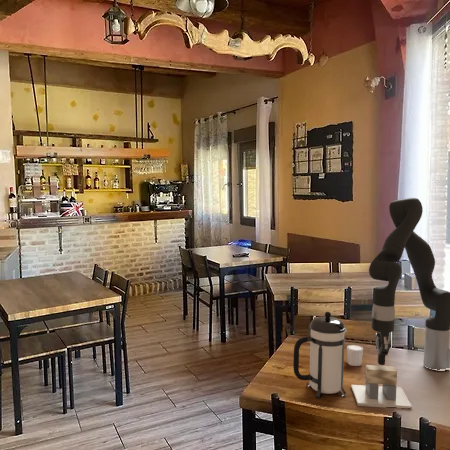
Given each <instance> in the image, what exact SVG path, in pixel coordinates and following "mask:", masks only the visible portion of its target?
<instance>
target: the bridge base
mask: <svg viewBox="0 0 450 450" xmlns="http://www.w3.org/2000/svg"><path fill="white" fill-rule="evenodd" d="M350 385H351V386H350V387H351V390H352V392H353V393H352V394H353V397H354V399H355V402H356V405H357V406H358V407H372V408H386V407H397V408H396V409H401V408H412V409H413V404H412V403H411V402H410V401H409V398H408V396H407V395H406V394H405V392H404V390H403V388H402V387H399V386H397V385H389V384H382V385H381V386H379V384H375V383H367V381H366V380H365V384H362V385H361V384H350Z"/></svg>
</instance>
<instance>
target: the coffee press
mask: <svg viewBox="0 0 450 450" xmlns="http://www.w3.org/2000/svg"><path fill="white" fill-rule="evenodd" d="M346 327H347V326H345V324H344V322H343V320H341V319H339V318H337V317H335V316H332V313H331V312H330V311H326V312H324V316H323V315H321V316H317V317H315V318H313V319H312V320H311V322H310V323H309V329H310V334H309V336H303V337H301V338H299V339H298V340H297V341H296V342H295V344H294V347H293V364H292V365H293V372H294V373H293V374H294V376H295V377H296V378H297V379H298V380H300V381H307V382H306V387H308V388H310V387H311V388H312V390H314V391H315V392H316V395H315V398H316V399H322V396H323V394H336V393H338V394H339V395H340V397H342V398H344V397H346V395H347V392H346V391H345V389H344V364H345V362H344V361H345V343H346V342H345V341H346V336H345V333H348V330H347V328H346ZM308 342H309V346H310V347H309V371H308V374H301V373H300V367H299V366H300V365H299V364H300V363H299V362H300V348H301V345H303V344H304V343H308Z"/></svg>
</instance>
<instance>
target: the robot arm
mask: <svg viewBox="0 0 450 450" xmlns="http://www.w3.org/2000/svg"><path fill="white" fill-rule="evenodd" d="M388 207H389V208H388V209H389V214H390V215H389V216H390V217H391V220H392V222H393V225H394V226H395V228H394V229H393V230H392V231H391V232H390V233H389V234H388V236H386V239H385V240H384V243H383V246H382V248H381V251H379V252H378V254H377V255H376V256H375V257H374V259H373V260H372V261H371V262H370V264H369V267H368V274H369V276H370V278H372V279H373V280H375V281H381V282H382V281H383V282H384V281H385V282H388V284H387V285H386V286H385V285H382V286H377V287H375V288H374V289H373V299H372V300H373V304H372V310H371V329H372V330H373V331H375V334H374V337H375V339H374V340H375V347H376V348H375V349H376V352H377V364H378V366H386V356H388V354H389V352H390V349H391V344H389V342H390V336H389V333H392V332H394V331H395V318H396V317H395V315H396V310H395V300H396V299H395V298H396V291H397V289H398V288H397V287H398V283H399V281H400V278H401V276H402V273H403V272H402V266H401V264H400V263H398V262H400V261H401V258H402V257H403V254H404V250H405V252H406V255H407V258H408V261H409V263H410V266H411V268H412V271H413V274H414V276H415V280H416V282H417V285H418V290H419V294H420V298H421V301H422V304H423V305H424V307H426V308H427V309H429V310H431V311H434V313H435V315H434V317H428V318H426V320H425V326H424V346H423V360H422V361H423V365H424V366H426V367H428V368H431V369H437V370H440V369H446V368H450V291H448V290H444V289H442V288H441V289H440V288H438V287H437V286H436V285H435V283H434V279H433V273H434V271H435V270H434V269H435V267H436V259H435V255H434V253H433V250H432V248H431V245H430V244H429V243H428V242H427V241H426V240H425V239H424V238H422V237H421V236H420V235H419V234H417V233H416V232H415V229H416V228H417V226H418V224H419V222H420V221H421V218H422V217H423V211H424V210H423V205H422V203H421V200H420V199H419V198H416V197H408V198H403V199H396V200H393V201H391V202H390V203H389V206H388ZM424 366H423V367H424Z"/></svg>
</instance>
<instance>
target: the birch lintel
mask: <svg viewBox="0 0 450 450" xmlns="http://www.w3.org/2000/svg"><path fill="white" fill-rule="evenodd" d="M364 377H365V382H366V381H367V383H375V384H378V385H379V384H380V385H383V384H389V385H396V386H397V384H398V383H397V381H398V379H397V378H398V370H397V368H396V367H395V366H390V365H389V366H387V365H376V364H375V365H373V364H372V365H371V364H365V376H364Z"/></svg>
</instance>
